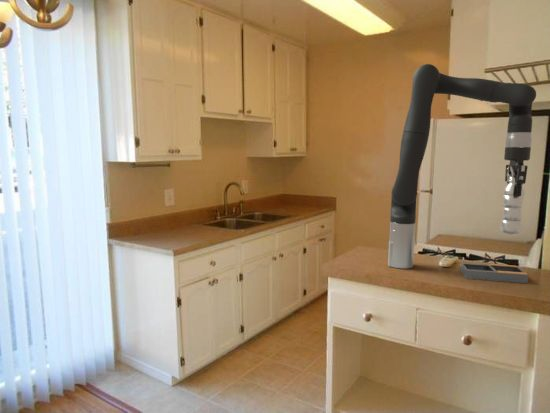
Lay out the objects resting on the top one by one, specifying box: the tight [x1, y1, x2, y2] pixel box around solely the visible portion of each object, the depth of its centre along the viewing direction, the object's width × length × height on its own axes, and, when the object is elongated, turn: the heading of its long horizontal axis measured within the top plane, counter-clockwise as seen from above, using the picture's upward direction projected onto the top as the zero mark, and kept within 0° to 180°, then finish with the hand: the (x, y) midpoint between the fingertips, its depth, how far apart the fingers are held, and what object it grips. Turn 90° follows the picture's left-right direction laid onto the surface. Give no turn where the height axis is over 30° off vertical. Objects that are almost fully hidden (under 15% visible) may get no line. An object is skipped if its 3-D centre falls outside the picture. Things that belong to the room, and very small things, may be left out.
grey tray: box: [459, 262, 529, 284], centre depth 141 cm, size 19×10×3 cm, turn 76°
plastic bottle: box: [499, 176, 525, 235], centre depth 137 cm, size 6×7×20 cm
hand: (513, 195), depth 136 cm, fingers closed on plastic bottle, 6 cm apart
